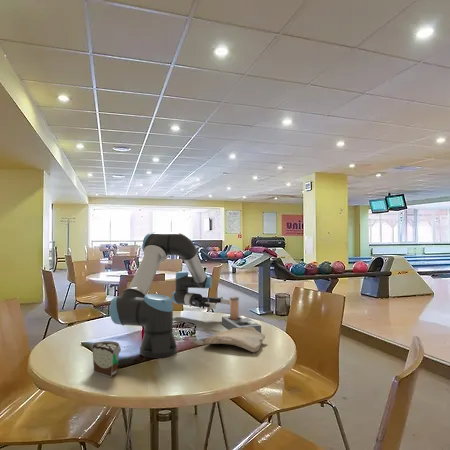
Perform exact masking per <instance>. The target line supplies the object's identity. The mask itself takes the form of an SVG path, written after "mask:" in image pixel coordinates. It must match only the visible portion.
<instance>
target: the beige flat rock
mask: <svg viewBox="0 0 450 450" xmlns="http://www.w3.org/2000/svg"><path fill="white" fill-rule="evenodd" d="M264 339H266V336H265V334H264V333H262V332H261V333H260V332H258V331H256V329H255V328H253V327H245V328H243V329H241V328H232V329H231V330H229V329H228V330H221V331H218V332H216V334H215V335H211V336H208V337H206V339H204V340H203V342H202V345H213V344H214V345H219V344H221V345H222V344H223V345H232V346H236V347H238V348H242V349H244V350H247V351H249V352H251V353H256V352H259V350H260V348H261V345H262V344H263V341H264Z"/></svg>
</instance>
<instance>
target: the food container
mask: <svg viewBox="0 0 450 450" xmlns="http://www.w3.org/2000/svg"><path fill="white" fill-rule="evenodd" d="M91 350H92V360H93V361H92V362H93V373H96V374H99V375H102V376H106V377H108V378H109V377H110V378H114V377H115V376H116V375H117V373H118V367H119V366H118V365H119V353H121V351H122V349H121V345H120V343H119V342H117V341H111V340H110V341H109V340H104V341H95V342H93V343H92V345H91Z"/></svg>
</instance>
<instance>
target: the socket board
mask: <svg viewBox="0 0 450 450" xmlns="http://www.w3.org/2000/svg"><path fill="white" fill-rule="evenodd" d="M221 325H222V326H224V327H225V328H226V329H228V330H231V329H232V328H241V329H243V328H245V327H253V328H255V329H256V331H258V332H260V333H262V325H261V324H259V323H258V322H256V321H254V320H252V319H251V318H248V317H247V316H246V315H243V314H240V315H239V320H230V316H229V315H228V316H222V317H221Z"/></svg>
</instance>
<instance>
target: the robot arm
mask: <svg viewBox="0 0 450 450" xmlns="http://www.w3.org/2000/svg"><path fill="white" fill-rule="evenodd" d="M141 247H142V252H143V258H142V260H141V262H140V264H139V266H138V268H137V270H136V272H135V273H134V276H133V277H132V279H131V282H130V284H129V286H128V287H127V288H125V289H123V290H122V292H121V294H120V295H119V296H118V295H117V296H114V297H112V299H111V301H110V303H109V304H110V305H109V315H110V319H111V321H112V322H113V323H114V324H116V325H120V326H137V327H143V332H144V333H143V338H142V340H141V342H140V343H141V344H140V346H139V355H140V356H141V355H142V356H141V357H144V358H149V359H161V358H167V357H170V356H173V355H175V354H176V353H177V352H178V345H177V342H176V338H175V336H174V331H173V329H174V328H173V326H174V325H173V323H174V321H173V319H174V307H173V303H174V304H177V305H182V306H184V305H185V306H189V307H196V308H202V309H206V308H207V309H211V310H216V304H219V303H220V304H222V305H230V298H229V299H228V298H224V297H223V296H221V297H216V296H215V297H211V296H203V295H202V294H200V293H194V292H189V289H211V288H212V286H213V277H212V276H211V275H209V274H208V275H207V274H206V271H205V270H204V267H203V265H202V263H201V260H200V259H199V256H198V253H197V252H198V250H197V247H196V245H195V244H194V242H193V241H192V240H191V239H190V238H189V237H188V236H186V235H184V234H183V233H180V232H176V231H175V232H166V231H165V232H164V231H163V232H159V231H154V232H149V233H147V234H146V235H144V238H143V240H142V245H141ZM167 256H177V257H179V258H180V259H181V260H183V261H184V262H183V263H185V265H186V268H187V270H188V271H189V272H188V271H184V270H183V271H176V273H175V290H174V291H173V292H172V294H171V296H167V295H165V294H164V295H163V294H158V293H156V294H154V293H149V294H148V292H149V290H150V287H151V285H152V283H153V281H154V278H155V276H156V274H157V272H158V269H159V267H160V265H161V263H162V262H164V261H165V260H166V258H167ZM189 273H190V274H189Z"/></svg>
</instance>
